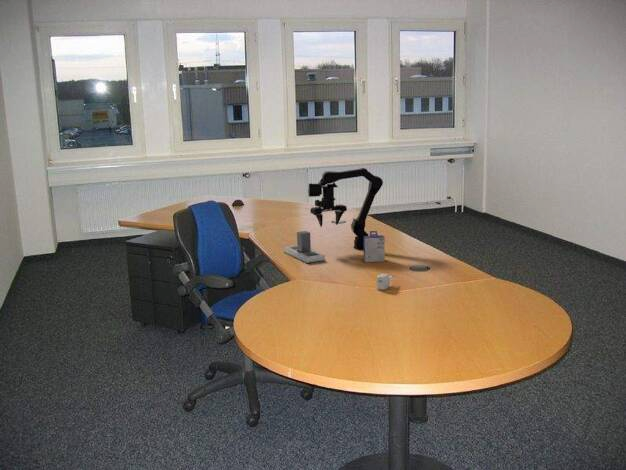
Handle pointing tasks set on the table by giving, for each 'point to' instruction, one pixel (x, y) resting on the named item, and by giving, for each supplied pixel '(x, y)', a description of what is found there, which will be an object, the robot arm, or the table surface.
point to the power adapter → (383, 281)
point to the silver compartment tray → (305, 255)
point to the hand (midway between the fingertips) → (328, 225)
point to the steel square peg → (303, 242)
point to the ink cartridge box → (374, 247)
